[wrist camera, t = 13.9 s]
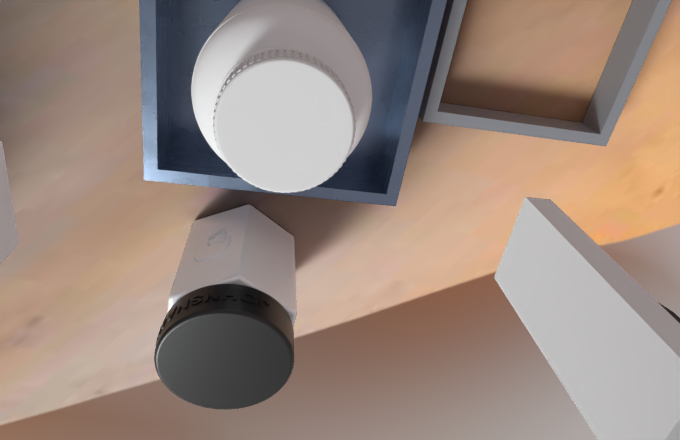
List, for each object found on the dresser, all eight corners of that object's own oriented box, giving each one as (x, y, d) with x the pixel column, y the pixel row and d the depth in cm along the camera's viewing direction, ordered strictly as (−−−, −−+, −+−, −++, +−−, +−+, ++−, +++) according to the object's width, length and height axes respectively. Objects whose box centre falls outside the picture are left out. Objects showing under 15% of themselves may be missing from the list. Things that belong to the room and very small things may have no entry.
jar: (276, 191, 37) (273, 290, 27) (309, 274, 41) (318, 388, 31) (164, 225, 38) (119, 336, 27) (208, 304, 42) (183, 426, 31)
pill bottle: (339, -27, 29) (383, 3, 16) (352, 105, 33) (395, 212, 20) (205, -9, 29) (142, 35, 16) (235, 121, 33) (203, 240, 20)
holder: (414, 110, 35) (422, 121, 33) (470, -119, 28) (485, -124, 26) (587, 134, 37) (605, 146, 35) (675, -73, 31) (705, -74, 29)
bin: (161, 149, 35) (144, 179, 30) (159, -124, 27) (135, -136, 23) (382, 174, 37) (395, 206, 33) (438, -68, 30) (463, -68, 25)
